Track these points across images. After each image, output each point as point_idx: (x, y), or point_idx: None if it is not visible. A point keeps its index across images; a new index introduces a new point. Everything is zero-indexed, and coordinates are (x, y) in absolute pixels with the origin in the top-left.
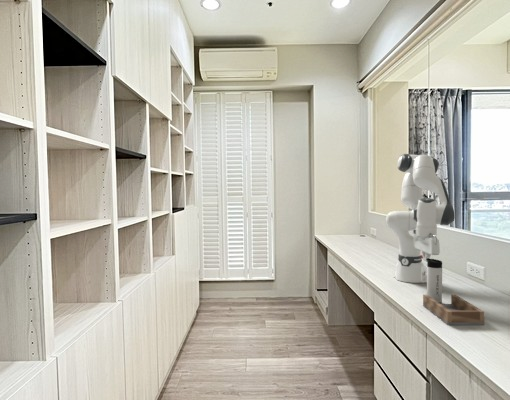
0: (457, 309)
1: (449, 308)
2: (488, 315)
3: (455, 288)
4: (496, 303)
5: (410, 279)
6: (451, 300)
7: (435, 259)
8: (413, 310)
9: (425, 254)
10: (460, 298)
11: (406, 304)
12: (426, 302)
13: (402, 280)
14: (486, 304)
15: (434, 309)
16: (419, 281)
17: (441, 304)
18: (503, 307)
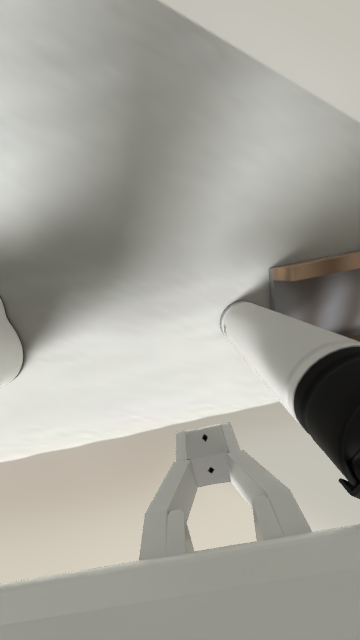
0: (327, 277)
1: (317, 298)
2: (355, 188)
3: (43, 195)
4: (228, 88)
5: (9, 355)
6: (281, 280)
7: (352, 421)
8: None
9: (180, 502)
10: (344, 261)
11: (262, 393)
12: None
13: (13, 376)
14: (244, 142)
15: None
16: (4, 321)
17: (281, 311)
18: (275, 81)
